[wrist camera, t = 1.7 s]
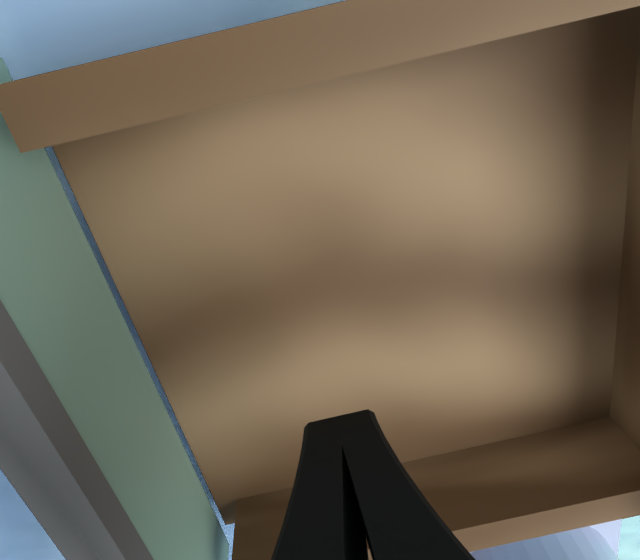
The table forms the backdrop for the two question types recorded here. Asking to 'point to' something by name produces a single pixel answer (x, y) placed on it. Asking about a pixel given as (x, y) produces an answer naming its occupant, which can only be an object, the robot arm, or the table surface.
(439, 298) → the cart bed
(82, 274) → the green board
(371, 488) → the robot arm
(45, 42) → the table surface
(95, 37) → the table surface
